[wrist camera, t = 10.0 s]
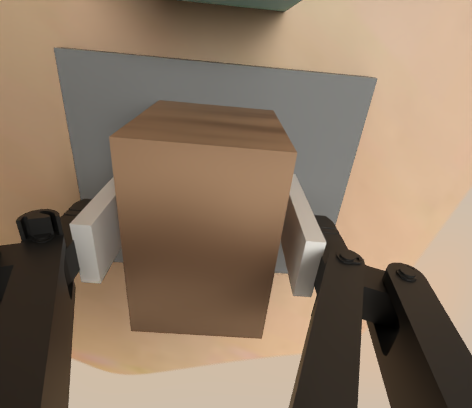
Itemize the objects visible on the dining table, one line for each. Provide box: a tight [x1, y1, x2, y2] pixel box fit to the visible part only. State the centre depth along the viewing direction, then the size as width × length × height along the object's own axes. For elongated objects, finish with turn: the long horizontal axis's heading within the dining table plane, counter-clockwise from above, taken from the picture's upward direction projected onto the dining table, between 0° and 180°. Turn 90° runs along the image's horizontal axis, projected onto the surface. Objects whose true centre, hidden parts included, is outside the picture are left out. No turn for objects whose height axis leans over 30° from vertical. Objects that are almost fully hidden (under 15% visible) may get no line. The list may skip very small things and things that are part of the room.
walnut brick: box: [109, 100, 297, 339], centre depth 15 cm, size 9×6×7 cm, turn 175°
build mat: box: [54, 48, 377, 273], centre depth 18 cm, size 13×16×1 cm
